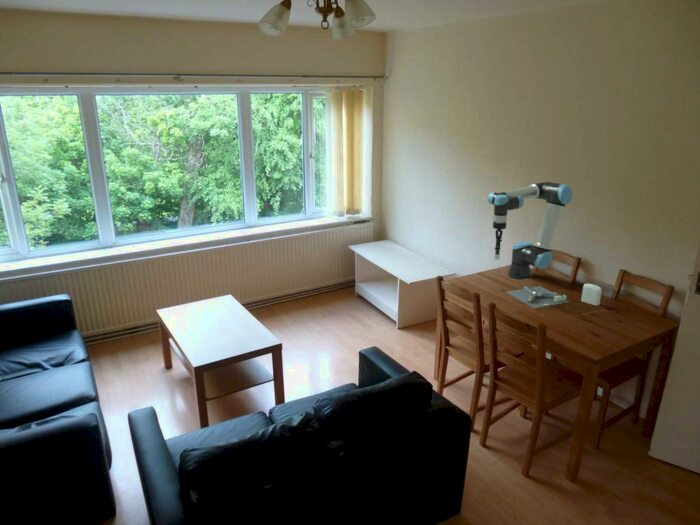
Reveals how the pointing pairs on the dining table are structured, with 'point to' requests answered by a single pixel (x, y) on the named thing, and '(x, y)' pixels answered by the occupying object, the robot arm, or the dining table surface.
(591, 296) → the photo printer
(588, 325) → the dining table surface
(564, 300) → the level board
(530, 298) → the grey metal branched piece
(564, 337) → the dining table surface
